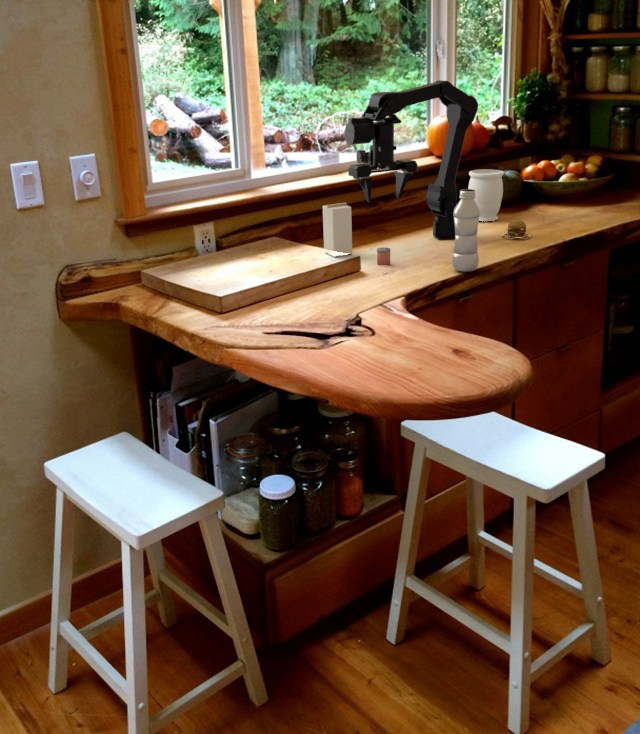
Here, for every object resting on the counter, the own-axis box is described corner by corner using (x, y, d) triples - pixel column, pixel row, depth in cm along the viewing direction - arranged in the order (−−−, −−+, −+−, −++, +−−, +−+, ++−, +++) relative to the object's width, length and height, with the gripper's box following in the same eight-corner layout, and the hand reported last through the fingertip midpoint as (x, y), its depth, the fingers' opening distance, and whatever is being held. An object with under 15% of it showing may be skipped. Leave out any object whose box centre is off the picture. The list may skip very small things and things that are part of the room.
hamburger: (504, 245, 229) (505, 226, 227) (488, 236, 240) (489, 217, 238) (544, 242, 231) (546, 223, 229) (527, 233, 242) (528, 214, 240)
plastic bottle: (462, 276, 200) (465, 193, 192) (446, 270, 206) (448, 189, 198) (483, 272, 203) (487, 190, 195) (467, 266, 208) (469, 186, 201)
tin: (388, 262, 215) (388, 247, 213) (391, 265, 211) (391, 250, 210) (375, 262, 214) (375, 248, 213) (378, 266, 211) (378, 251, 210)
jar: (506, 218, 259) (508, 169, 253) (494, 224, 251) (496, 175, 245) (474, 215, 264) (476, 168, 259) (462, 221, 256) (463, 173, 251)
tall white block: (342, 250, 228) (341, 200, 223) (352, 254, 223) (351, 204, 218) (324, 252, 226) (322, 203, 221) (333, 257, 221) (332, 206, 215)
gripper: (397, 136, 229) (397, 192, 235) (338, 141, 222) (339, 199, 228) (419, 140, 220) (418, 198, 226) (357, 145, 213) (358, 205, 219)
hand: (383, 200), depth 225 cm, fingers open, 9 cm apart
